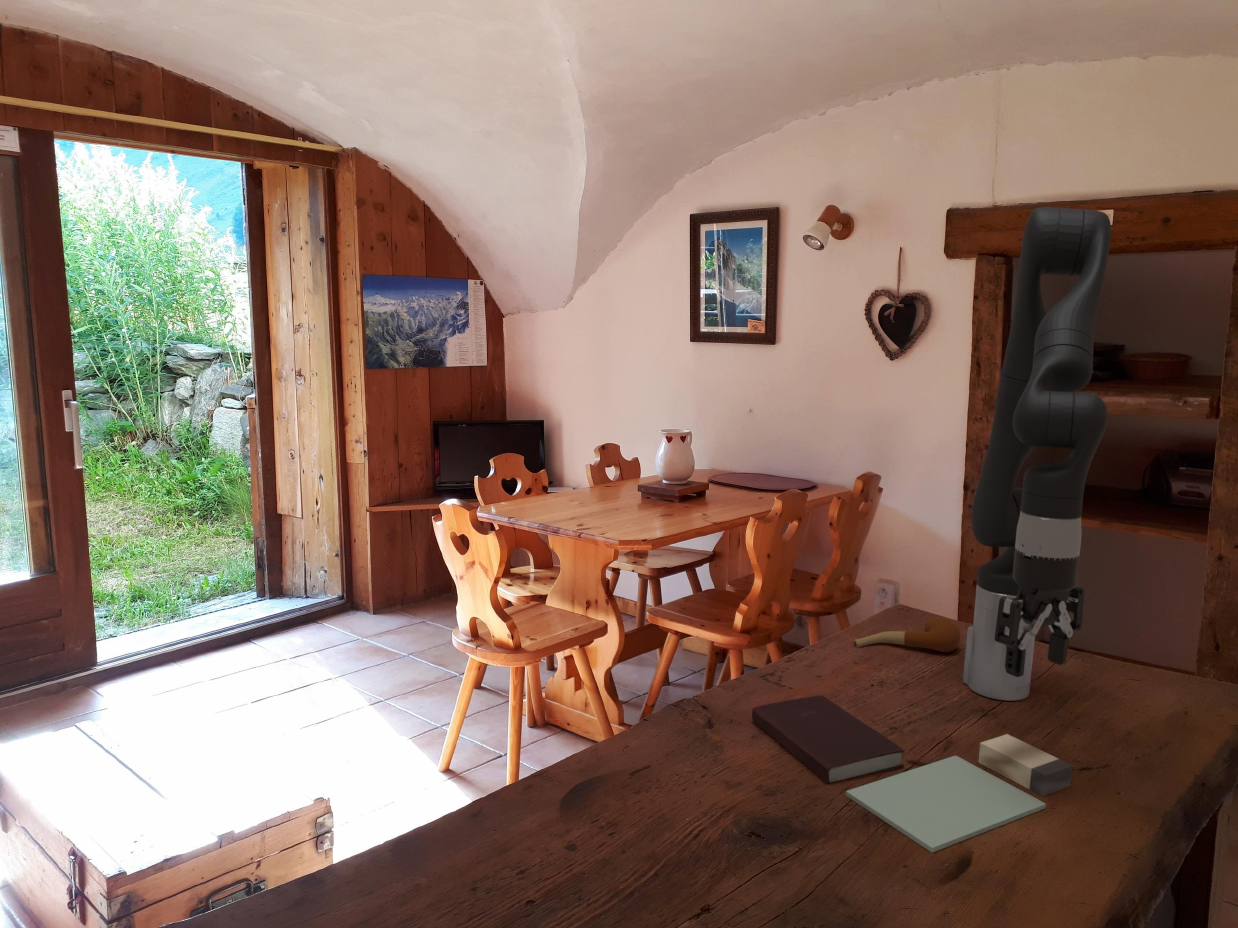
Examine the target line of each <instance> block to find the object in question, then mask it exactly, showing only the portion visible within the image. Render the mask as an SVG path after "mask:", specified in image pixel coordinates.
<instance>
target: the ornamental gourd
mask: <svg viewBox="0 0 1238 928" xmlns="http://www.w3.org/2000/svg"><path fill="white" fill-rule="evenodd" d="M960 642H961V632H960V629H959V627H958V626H957V624H955V623H954V622H953V621H951V620H950V619H948V618H945V617H944V618H942V617H937V616H936V617H933V618H931V619H930V620H928V621H927V622H926V625H925V626H924V630H923V631H917V630H905V631H900V630H899V631H897V630H895V631H894V630H893V631H892V630H891V631H882V632H878V633H875V634H872V635H868V636H864V637H861V638H856V639H854V640H853V646H854V647H856V648H861V647H865V646H869V645H872V644H880V643H881V644H882V643H883V644H884V643H887V644H888V643H889V644H896V645H900V646H901V645H902V646H905V647H915V648H925V649H926V648H927V649H931V650H934V651H936V652H941V653H950V652H952V651H954V650H955V649H957V648H958V646H959V644H960Z"/></svg>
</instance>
